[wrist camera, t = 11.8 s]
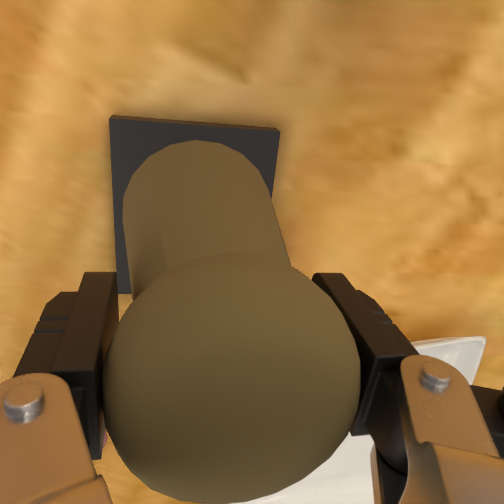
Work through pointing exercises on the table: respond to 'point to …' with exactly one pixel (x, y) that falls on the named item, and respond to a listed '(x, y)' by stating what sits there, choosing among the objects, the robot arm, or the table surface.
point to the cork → (221, 338)
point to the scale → (162, 135)
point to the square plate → (370, 440)
